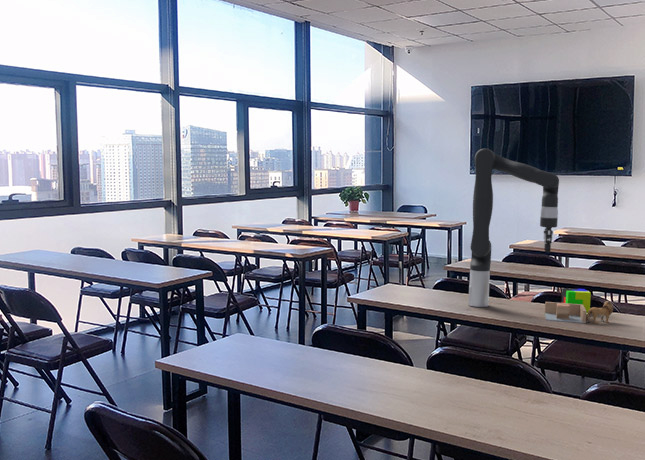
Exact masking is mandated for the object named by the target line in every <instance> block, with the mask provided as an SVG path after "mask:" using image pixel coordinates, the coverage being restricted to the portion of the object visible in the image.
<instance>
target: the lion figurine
mask: <svg viewBox="0 0 645 460" xmlns="http://www.w3.org/2000/svg"><path fill="white" fill-rule="evenodd" d="M613 312H614V304H613V302H612V301H609V300H606V301H604V302H603V306H602V307H595V306H593V307H590V310H589V311H588V314H586V323H589V318H590V317H592V316H593V317H592V321H593V322H594V323H595V324H599V322H598V321H596V320H597V317H600V322H603V323H604V320H605V323H607V324H610V321H609V319H610V316H611V315H612V314H613ZM604 317H605V319H604Z"/></svg>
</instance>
